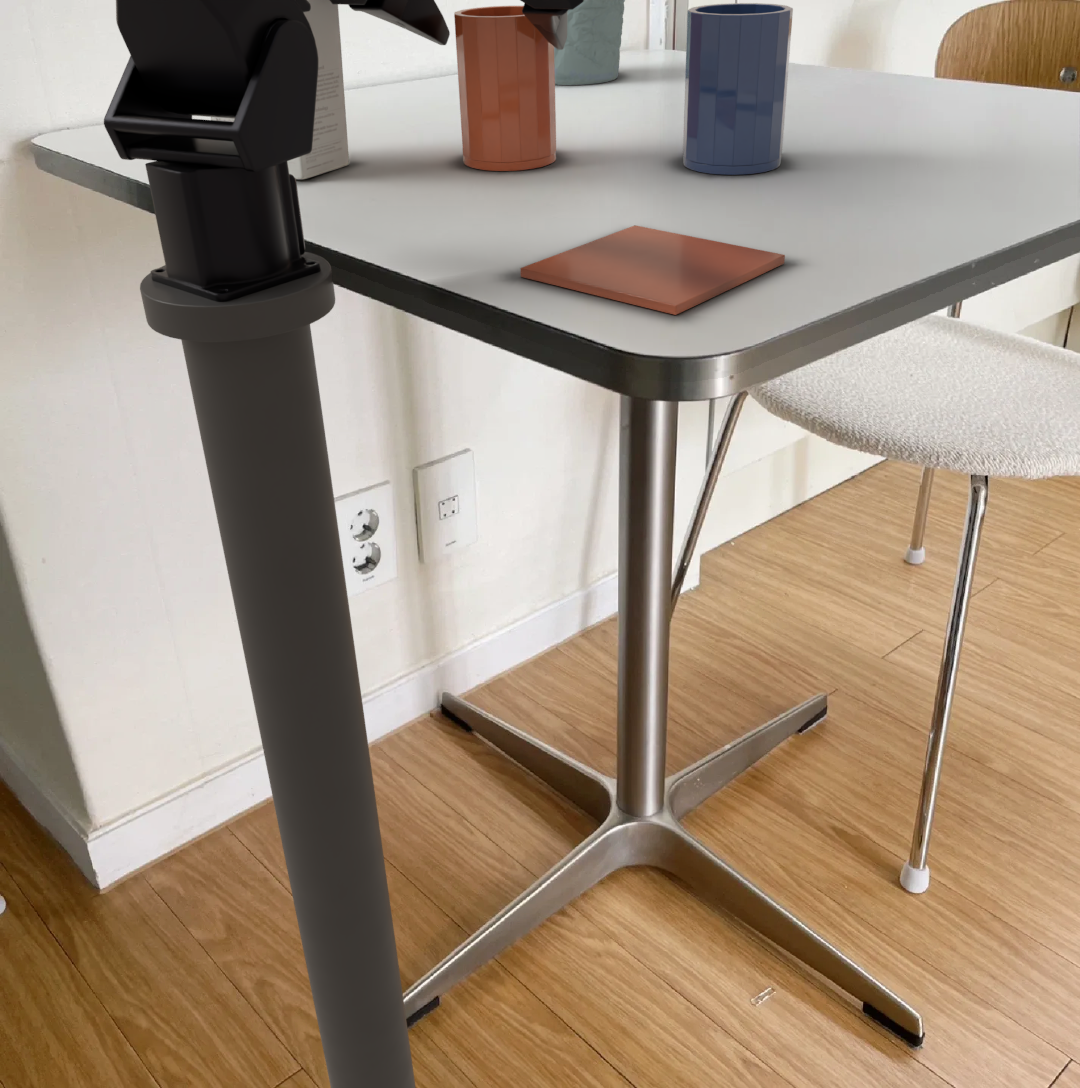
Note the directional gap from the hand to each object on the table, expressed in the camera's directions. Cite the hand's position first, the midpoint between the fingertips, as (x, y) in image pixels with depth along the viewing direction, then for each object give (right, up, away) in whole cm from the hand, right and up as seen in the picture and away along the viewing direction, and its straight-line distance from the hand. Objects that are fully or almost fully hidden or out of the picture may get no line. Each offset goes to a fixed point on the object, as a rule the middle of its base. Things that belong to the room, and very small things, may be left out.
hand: (503, 41), depth 80 cm
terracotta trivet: (+9, -20, -19) cm, 29 cm away
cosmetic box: (-16, -8, +4) cm, 18 cm away
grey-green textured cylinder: (+6, +12, +35) cm, 38 cm away
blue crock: (+16, -8, +1) cm, 18 cm away
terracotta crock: (0, -7, +4) cm, 8 cm away
